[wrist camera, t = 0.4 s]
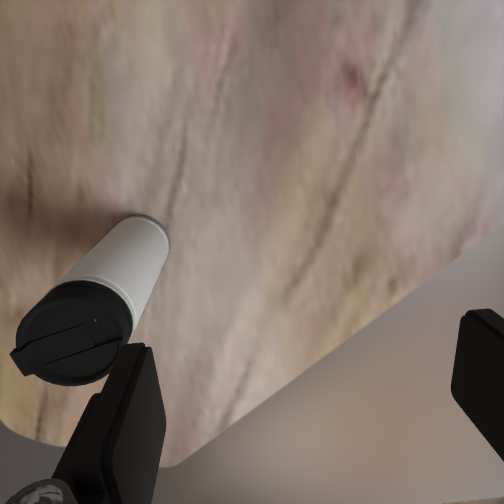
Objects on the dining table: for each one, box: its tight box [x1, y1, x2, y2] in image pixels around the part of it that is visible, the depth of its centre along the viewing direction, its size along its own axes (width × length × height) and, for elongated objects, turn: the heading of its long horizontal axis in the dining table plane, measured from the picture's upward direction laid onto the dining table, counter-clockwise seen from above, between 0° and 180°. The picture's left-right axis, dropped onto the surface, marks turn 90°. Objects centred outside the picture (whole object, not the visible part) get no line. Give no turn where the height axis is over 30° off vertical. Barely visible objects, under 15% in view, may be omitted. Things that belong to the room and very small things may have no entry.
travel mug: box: [10, 215, 170, 386], centre depth 31 cm, size 6×7×20 cm
